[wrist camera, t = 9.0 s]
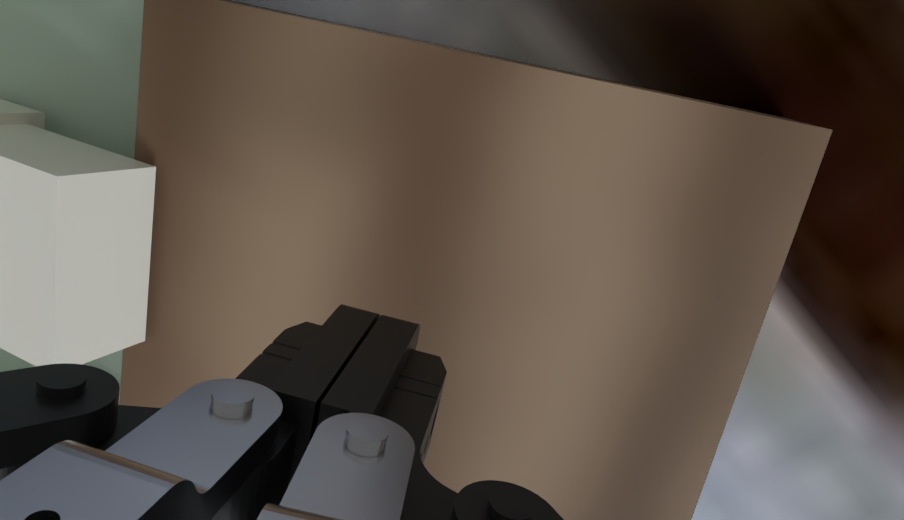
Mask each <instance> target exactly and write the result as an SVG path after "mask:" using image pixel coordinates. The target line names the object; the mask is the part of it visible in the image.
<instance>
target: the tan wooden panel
mask: <svg viewBox="0 0 904 520" xmlns="http://www.w3.org/2000/svg"><path fill="white" fill-rule="evenodd" d="M832 131H833V130H831V129H827V128H823V127H819V126H815V125H811V124H807V123H803V122H799V121H796V120H792V119H788V118H784V117H779V116H774V115H769V114H765V113H760V112H755V111H751V110H746V109H741V108H736V107H732V106H727V105H722V104H717V103H713V102H708V101H703V100H698V99H694V98H689V97H684V96H679V95H675V94H670V93H665V92H661V91H656V90H651V89H646V88H642V87H637V86H632V85H627V84H623V83H618V82H613V81H608V80H604V79H599V78H594V77H589V76H585V75H580V74H575V73H570V72H566V71H561V70H556V69H552V68H547V67H542V66H537V65H533V64H528V63H523V62H518V61H514V60H509V59H504V58H499V57H495V56H490V55H485V54H480V53H476V52H471V51H466V50H462V49H457V48H452V47H447V46H443V45H438V44H433V43H428V42H424V41H419V40H414V39H409V38H405V37H400V36H395V35H390V34H386V33H381V32H376V31H371V30H367V29H362V28H357V27H353V26H348V25H343V24H338V23H334V22H329V21H324V20H319V19H315V18H310V17H305V16H300V15H296V14H291V13H286V12H281V11H277V10H272V9H267V8H263V7H258V6H253V5H248V4H244V3H239V2H234V1H229V0H144V7H143V23H142V39H141V56H140V72H139V89H138V105H137V122H136V138H135V155H134V159H135V160H138V161H141V162H144V163H147V164H150V165H153V166H156V178H155V193H154V209H153V225H152V240H151V256H150V272H149V288H148V303H147V319H146V335H145V341H144V342H141V343H138V344H135V345H133V346H130V347H127V348H125V349H123V352H122V368H121V385H120V401H119V405H127V406H140V407H153V408H163V407H164V406H166V405H167V404H168V403H170V402H171V401H172V400H174V399H175V398H176V397H178V396H179V395H180V394H182V393H183V392H184V391H186V390H187V389H188V388H190V387H192V386H193V385H196V384H198V383H201V382H204V381H208V380H214V379H235V378H236V377H237V376H238V375H239V374H240V373H241V372H242V371H243V370H244V369H245V368H246V367H247V366H248V365H249V364H250V363H251V362H252V361H253V360H254V359H255V358H256V357H257V356H258V355H259V354H262V352H263V350H264V349H265V348H266V347H267V346H269V345H270V344H272V342H273V341H274V340H275V339H276V338H277V337H278V336H279V335H280V334H281V333H282V332H283V331H284V330H285V329H287V328H290V327H292V326H295V325H298V324H301V323H304V322H306V321H307V322H310V323H314V324H318V325H323V324H324V322H325V321H326V320H327V319H328V318H329V317H330V316H331V315H332V313H333V312H334V311H335V310H336V309H337V308H338V307H339V306H340V305H341V304H343V305H347V306H351V307H355V308H358V309H362V310H366V311H370V312H374V313H378V314H380V316H381V315H386V316H390V317H393V318H397V319H401V320H405V321H409V322H413V323H416V324H420V331H419V337H418V342H417V346H416V350H417V351H421V352H425V353H428V354H432V355H436V356H440V357H441V360H442V362H443V364H444V366H445V369H446V371H447V374H446V378H445V383H444V387H443V391H442V395H441V399H440V404H439V408H438V412H437V416H436V420H435V425H434V429H433V433H432V437H431V441H430V445H429V448H428V451H427V454H426V457H425V460H424V463H423V464H424V466H425V468H426V469H427V471H428V472H429V473H430V474H431V475H432V476H433V477H434V478H435V479H436V480H437V481H439V482H440V483H441V484H443V485H444V486H446V487H448V488H449V489H451V490H453V491H455V492H457V493H459V492H460V490H461V489H462V488H464V487H465V486H467V485H469V484H471V483H474V482H478V481H485V480H497V481H504V482H509V483H513V484H516V485H519V486H522V487H524V488H526V489H528V490H530V491H532V492H534V493H536V494H537V495H539V496H540V497H541V498H543V499H544V500H545V501H547V502H548V503H549V504H550V505H551V506H552V507H553V508H554V510H555V511H556V512H557V513H558V514H559V515H560V516H561V517H562V518H563V519H564V520H691V518H692V516H693V513H694V510H695V507H696V505H697V502H698V499H699V496H700V494H701V491H702V488H703V485H704V483H705V480H706V477H707V474H708V472H709V469H710V466H711V463H712V461H713V458H714V455H715V452H716V450H717V447H718V444H719V441H720V439H721V436H722V433H723V430H724V428H725V425H726V422H727V419H728V417H729V414H730V411H731V408H732V406H733V403H734V400H735V397H736V395H737V392H738V389H739V386H740V384H741V381H742V378H743V375H744V373H745V370H746V367H747V364H748V362H749V359H750V356H751V353H752V351H753V348H754V345H755V342H756V340H757V337H758V334H759V331H760V329H761V326H762V323H763V320H764V318H765V315H766V312H767V309H768V307H769V304H770V301H771V298H772V296H773V293H774V290H775V287H776V285H777V282H778V279H779V276H780V274H781V271H782V268H783V265H784V263H785V260H786V257H787V254H788V252H789V249H790V246H791V243H792V241H793V238H794V235H795V232H796V230H797V227H798V224H799V221H800V219H801V216H802V213H803V210H804V208H805V205H806V202H807V199H808V197H809V194H810V191H811V188H812V186H813V183H814V180H815V177H816V175H817V172H818V169H819V166H820V164H821V161H822V158H823V155H824V153H825V150H826V147H827V144H828V142H829V139H830V136H831V133H832Z"/></svg>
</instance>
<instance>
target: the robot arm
mask: <svg viewBox="0 0 904 520" xmlns="http://www.w3.org/2000/svg"><path fill="white" fill-rule="evenodd" d="M419 331H420V324H416V323H413V322H409V321H405V320H401V319H397V318H393V317H390V316H386V315H381V316H380V314H378V313H374V312H370V311H366V310H362V309H358V308H355V307H351V306H347V305H343V304H341V305H340V306H339V307H338V308H337V309H336V310H335V311H334V312H333V313H332V315H331V316H330V317H329V318H328V319H327V320H326V321H325V322H324V324H323V325H318V324H314V323H310V322H307V321H306V322H304V323H301V324H298V325H295V326H292V327H290V328H287V329H285V330H284V331H283V332H282V333H281V334H280V335H279V336H278V337H277V338H276V339H275V340H274V341H273V342H272V344H270V345H269V346H267V347H266V348H265V349H264V350H263V352H262V354H259V355H258V356H257V357H256V358H255V359H254V360H253V361H252V362H251V363H250V364H249V365H248V366H247V367H246V368H245V369H244V370H243V371H242V372H241V373H240V374H239V375H238V376H237V377H236V378H235V379H214V380H208V381H204V382H201V383H198V384H196V385H193V386H192V387H190V388H188V389H187V390H186V391H184V392H183V393H182V394H180V395H179V396H178V397H176V398H175V399H174V400H172V401H171V402H170V403H168V404H167V405H166V406H164V407H163V408H153V407H140V406H127V405H118V402H119V389H120V388H119V383H118V381H117V379H116V378H115V377H114V376H113V375H111V374H110V373H108V372H106V371H104V370H102V369H99V368H96V367H93V366H88V365H81V364H67V363H64V364H50V365H42V366H36V367H29V368H23V369H16V370H10V371H3V372H0V520H564V519H563V518H562V517H561V516H560V515H559V514H558V513H557V512H556V511H555V510H554V508H553V507H552V506H551V505H550V504H549V503H548V502H547V501H545V500H544V499H543V498H541V497H540V496H539V495H537V494H536V493H534V492H532V491H530V490H528V489H526V488H524V487H522V486H519V485H516V484H513V483H509V482H504V481H497V480H485V481H478V482H474V483H471V484H469V485H467V486H465V487H464V488H462V489H461V490H460V492H459V493H457V492H455V491H453V490H451V489H449V488H448V487H446V486H444V485H443V484H441V483H440V482H439V481H437V480H436V479H435V478H434V477H433V476H432V475H431V474H430V473H429V472H428V471H427V469H426V468H425V466H424V464H423V463H424V460H425V457H426V454H427V451H428V448H429V445H430V441H431V437H432V433H433V429H434V425H435V420H436V416H437V412H438V408H439V404H440V399H441V395H442V391H443V387H444V383H445V378H446V374H447V371H446V369H445V366H444V364H443V362H442V360H441V357H440V356H436V355H432V354H428V353H425V352H421V351H417V350H416V346H417V342H418V337H419Z"/></svg>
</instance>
